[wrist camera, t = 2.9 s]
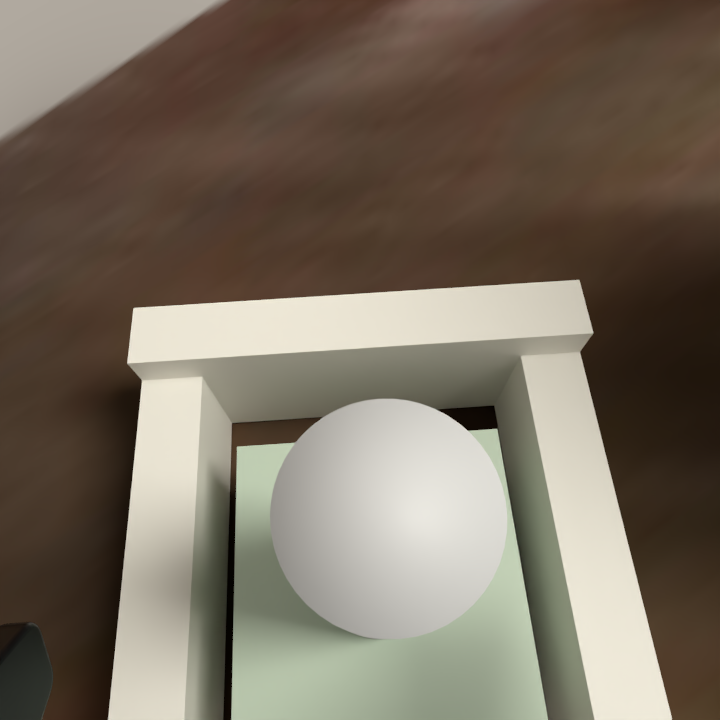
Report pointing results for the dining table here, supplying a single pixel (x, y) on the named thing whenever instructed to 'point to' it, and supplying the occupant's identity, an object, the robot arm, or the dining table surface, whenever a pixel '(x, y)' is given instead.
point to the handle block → (380, 574)
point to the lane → (355, 384)
